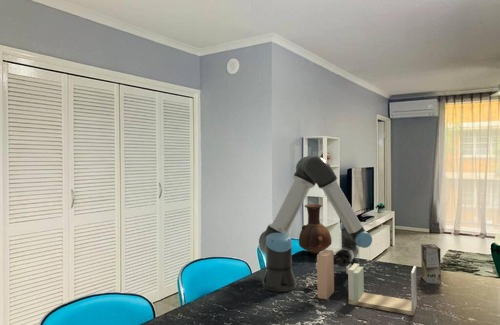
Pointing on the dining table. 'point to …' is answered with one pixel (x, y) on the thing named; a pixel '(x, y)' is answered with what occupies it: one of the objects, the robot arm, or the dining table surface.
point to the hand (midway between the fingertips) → (331, 268)
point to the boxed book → (325, 274)
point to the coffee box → (431, 263)
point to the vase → (314, 232)
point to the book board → (385, 303)
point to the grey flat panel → (413, 288)
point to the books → (355, 282)
